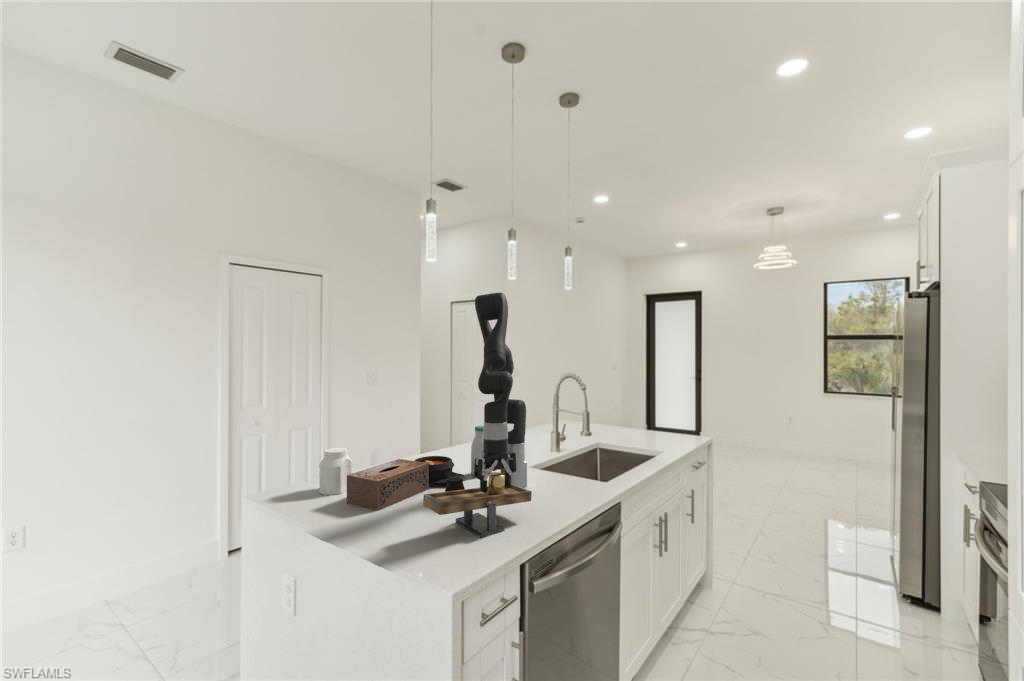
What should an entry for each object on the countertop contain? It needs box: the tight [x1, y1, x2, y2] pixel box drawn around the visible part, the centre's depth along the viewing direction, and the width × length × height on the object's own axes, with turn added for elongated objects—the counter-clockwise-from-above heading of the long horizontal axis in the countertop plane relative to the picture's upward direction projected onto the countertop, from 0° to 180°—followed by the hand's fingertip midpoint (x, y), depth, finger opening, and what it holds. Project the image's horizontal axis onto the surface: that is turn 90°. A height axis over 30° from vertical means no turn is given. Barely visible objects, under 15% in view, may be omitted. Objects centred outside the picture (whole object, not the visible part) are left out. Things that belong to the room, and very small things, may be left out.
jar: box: [318, 447, 353, 496], centre depth 173 cm, size 12×10×15 cm
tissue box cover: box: [346, 458, 430, 512], centre depth 166 cm, size 26×14×10 cm, turn 151°
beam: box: [422, 484, 533, 516], centre depth 138 cm, size 32×10×3 cm, turn 128°
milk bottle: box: [470, 425, 488, 477], centre depth 194 cm, size 8×8×20 cm
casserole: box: [413, 455, 465, 486], centre depth 185 cm, size 25×19×8 cm
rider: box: [487, 471, 505, 496], centre depth 142 cm, size 5×5×6 cm
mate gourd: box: [444, 472, 466, 492], centre depth 161 cm, size 7×8×10 cm
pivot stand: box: [455, 504, 505, 538], centre depth 138 cm, size 8×14×8 cm, turn 38°
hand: (495, 489), depth 142 cm, fingers open, 8 cm apart
